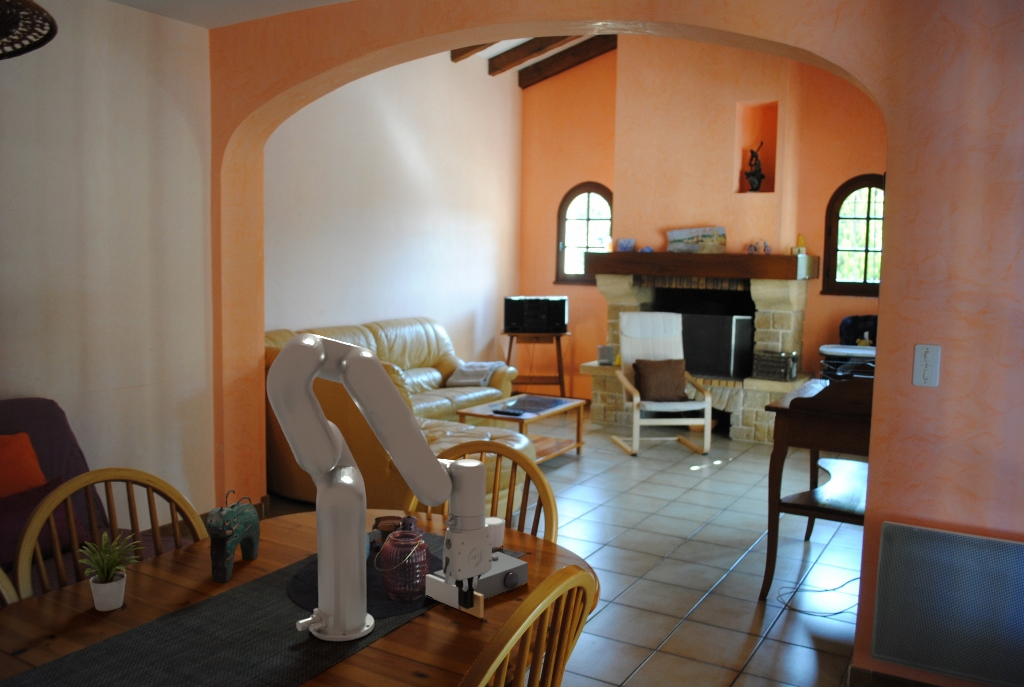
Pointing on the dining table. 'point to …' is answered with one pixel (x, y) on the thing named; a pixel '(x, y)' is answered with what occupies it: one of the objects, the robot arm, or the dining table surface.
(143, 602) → the dining table surface
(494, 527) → the white cup
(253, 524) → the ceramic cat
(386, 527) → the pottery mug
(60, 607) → the dining table surface
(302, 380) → the robot arm
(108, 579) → the house plant
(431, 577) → the side door
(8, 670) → the dining table surface
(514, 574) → the box
